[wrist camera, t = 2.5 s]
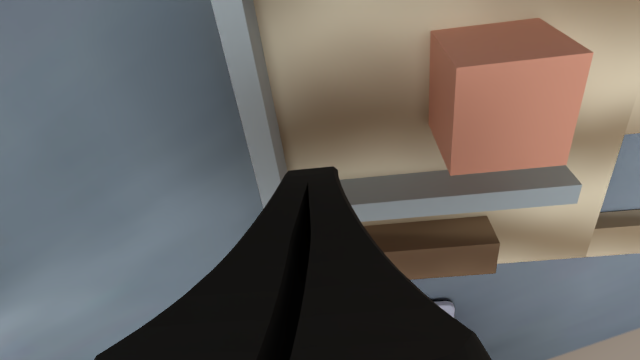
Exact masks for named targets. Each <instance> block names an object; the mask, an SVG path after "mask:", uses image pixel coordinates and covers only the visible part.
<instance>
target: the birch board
mask: <svg viewBox="0 0 640 360" xmlns="http://www.w3.org/2000/svg"><path fill="white" fill-rule="evenodd" d="M253 2H254V7H255V12H256V17H257V22H258V27H259V32H260V37H261V42H262V47H263V52H264V57H265V62H266V67H267V72H268V77H269V82H270V87H271V92H272V97H273V102H274V107H275V112H276V117H277V122H278V127H279V132H280V137H281V142H282V147H283V152H284V157H285V162H286V167H287V172H288V171H289V170H300V169H310V168H321V167H331V166H334V167H335V168H336V169H338V175H339V179H340V180H344V179H355V178H366V177H376V176H387V175H398V174H409V173H419V172H430V171H441V170H448V169H447V167H446V165H445V162H444V160H443V158H442V155H441V153H440V150H439V148H438V146H437V143H436V141H435V138H434V136H433V134H432V131H431V129H430V127H429V124H428V122H429V78H430V33H431V31H432V30H440V29H449V28H457V27H466V26H474V25H482V24H491V23H499V22H507V21H516V20H524V19H532V18H540V19H542V20H543V21H545V22H547V23H548V24H550V25H551V26H553V27H554V28H556V29H558V30H559V31H561V32H562V33H564V34H565V35H567V36H569V37H570V38H572V39H573V40H575V41H576V42H578V43H580V44H581V45H583V46H584V47H586V48H587V49H589V50H591V51H592V52H594V53H593V57H592V62H591V66H590V70H589V74H588V78H587V82H586V86H585V91H584V95H583V99H582V103H581V107H580V111H579V115H578V120H577V124H576V128H575V132H574V136H573V140H572V144H571V149H570V153H569V157H568V161H567V165H566V166H567V167H568V168H569V170H570V171H571V172H572V173H573V174H574V176H575V177H576V178H577V179H578V180H579V181H580V183H581V184H582V187H581V191H580V195H579V198H578V202H577V204H566V205H554V206H542V207H531V208H519V209H507V210H495V211H483V212H472V213H460V214H448V215H436V216H424V217H413V218H401V219H389V220H377V221H366V222H361V223H362V224H363V226H370V225H382V224H394V223H406V222H418V221H430V220H442V219H453V218H465V217H477V216H487V217H488V219H489V221H490V223H491V225H492V227H493V229H494V231H495V234H496V236H497V238H498V240H499V242H500V248H499V254H498V260H497V264H500V263H514V262H527V261H540V260H554V259H567V258H580V257H594V256H607V255H620V254H634V253H640V209H639V210H627V211H615V212H602V213H600V210H601V207H602V204H603V201H604V198H605V195H606V191H607V188H608V185H609V182H610V179H611V176H612V172H613V169H614V166H615V163H616V160H617V157H618V154H619V150H620V147H621V144H622V141H623V138H624V135H625V134H635V133H640V0H253Z"/></svg>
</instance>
